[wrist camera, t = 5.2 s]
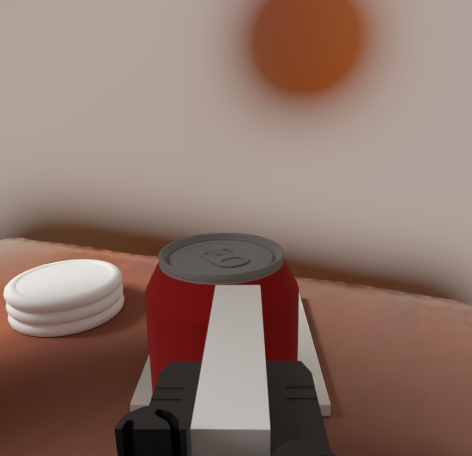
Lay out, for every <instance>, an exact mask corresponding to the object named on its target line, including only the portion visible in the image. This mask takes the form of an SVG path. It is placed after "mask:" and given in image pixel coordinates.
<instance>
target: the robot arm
mask: <svg viewBox="0 0 472 456" xmlns="http://www.w3.org/2000/svg"><path fill="white" fill-rule="evenodd" d="M115 436H116V445H117V453H118V456H335V455H334V454H333V453H332V452H331V449H330V447H329V444H328V439H327V435H326V431H325V427H324V423H323V418H322V414H321V410H320V406H319V401H318V397H317V393H316V389H315V385H314V380H313V376H312V372H311V371H310V370H309V369H308V368H307V367H306V366H305V365H304V364H303V362H302V361H266V359H265V345H264V331H263V316H262V302H261V288H260V285H216V286H215V291H214V297H213V303H212V309H211V314H210V320H209V326H208V331H207V337H206V343H205V349H204V354H203V360H202V362H170V363H169V364H168V365H167V366H166V367H165V368H164V369H163V370H162V371H161V372H160V373H159V375H158V379H157V382H156V385H155V390H154V391H153V394H152V397H151V402H150V403H149V406H144V407H142V408H139V409H136V410H134V411H132V412H130V413H129V414H128V415H126V416H125V417H124V418H122V419H121V420H120V422H119V423H118V425H117V426H116V428H115Z"/></svg>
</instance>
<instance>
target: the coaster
mask: <svg viewBox="0 0 472 456" xmlns="http://www.w3.org/2000/svg"><path fill="white" fill-rule="evenodd" d="M121 281H122V274H121V271H120V270H119V268H117V267H116V266H114V265H113V264H111V263H108V262H105V261H100V260H89V259H79V260H67V261H60V262H55V263H50V264H46V265H42V266H39V267H36V268H33V269H30V270H28V271H25V272H23V273H21V274H19V275H18V276H16V277H15V278H13V279H12V280H11V281H10V282H9V283H8V284H7V285H6V287H5V289H4V295H3V296H4V299H5V300H6V310H7V312H8V322H9V323H10V325H11V327H12V328H13V329H14V330H16V331H17V332H20V333H22V334H25V335H29V336H36V337H57V336H65V335H71V334H75V333H79V332H83V331H86V330H89V329H92V328H94V327H97V326H99V325H101V324H103V323H105V322H107V321H109V320H110V319H111V318H113V317H114V316H115V315H116V314H117V313H118V312H119V311H120V310H121V309H122V307H123V304H124V295H123V284H122V282H121Z"/></svg>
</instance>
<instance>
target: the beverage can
mask: <svg viewBox="0 0 472 456" xmlns="http://www.w3.org/2000/svg"><path fill="white" fill-rule="evenodd" d="M283 257H284V254H283V249H282V248H281V246H280V245H279V244H277V243H275V242H274V241H272V240H269V239H267V238H263V237H259V236H255V235H249V234H240V233H211V234H202V235H196V236H191V237H186V238H183V239H179V240H177V241H174V242H172V243H170V244H168V245H166V246H165V247H164V248H163V249H162V250H161V251H160V253H159V263H158V264H157V266H156V269H155V271H154V273H153V275H152V277H151V279H150V281H149V283H148V285H147V288H146V291H145V303H146V317H147V331H148V345H149V357H150V369H151V381H152V393H153V391H154V390H155V385H156V382H157V379H158V375H159V373H160V372H161V371H162V370H163V369H164V368H165V367H166V366H167V365H168V364H169V363H170V362H202V360H203V354H204V349H205V343H206V337H207V331H208V326H209V320H210V314H211V309H212V303H213V297H214V291H215V286H216V285H260V288H261V302H262V316H263V331H264V345H265V359H266V361H298V322H299V287H298V284H297V281H296V280H295V278H294V276H293V274H292V272H291V271H290V269H289V267H288V265H287V263H286V261H285V260H284V258H283Z"/></svg>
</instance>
